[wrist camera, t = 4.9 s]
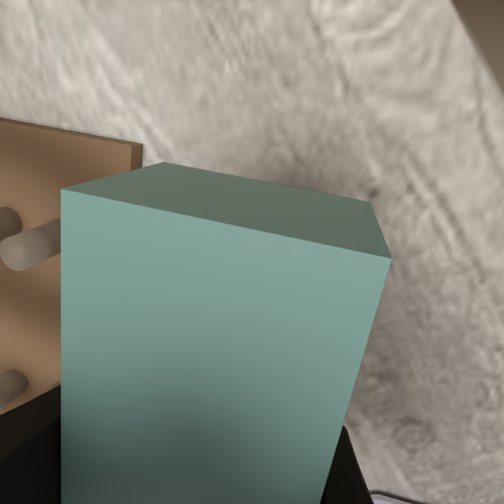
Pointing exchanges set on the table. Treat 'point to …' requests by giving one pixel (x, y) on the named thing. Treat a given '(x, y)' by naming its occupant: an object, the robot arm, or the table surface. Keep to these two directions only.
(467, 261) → the table surface
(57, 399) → the robot arm
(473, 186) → the table surface
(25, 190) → the peg rack
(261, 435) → the teal rectangular block
